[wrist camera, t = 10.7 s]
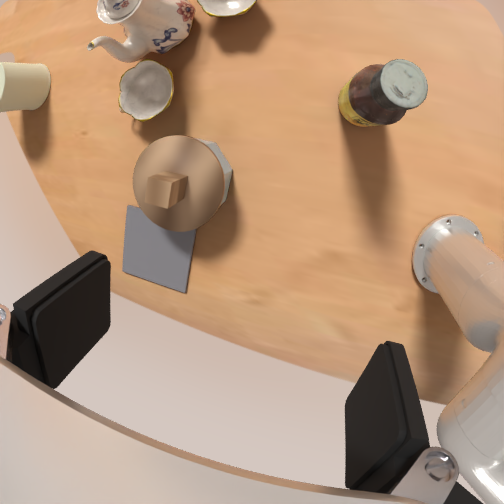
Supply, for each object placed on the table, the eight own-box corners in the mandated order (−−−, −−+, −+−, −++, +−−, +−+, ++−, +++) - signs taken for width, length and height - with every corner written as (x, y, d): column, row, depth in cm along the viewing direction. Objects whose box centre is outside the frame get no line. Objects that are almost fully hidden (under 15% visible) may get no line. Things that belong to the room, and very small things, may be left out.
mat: (197, 224, 48) (196, 225, 48) (186, 291, 53) (184, 292, 53) (129, 205, 49) (127, 205, 49) (124, 269, 54) (122, 271, 53)
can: (39, 54, 41) (-7, 50, 30) (57, 83, 43) (8, 82, 32) (16, 90, 45) (-29, 92, 34) (32, 119, 46) (-15, 126, 36)
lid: (234, 146, 37) (221, 149, 32) (214, 240, 42) (199, 257, 37) (143, 128, 38) (119, 130, 33) (131, 216, 43) (108, 229, 38)
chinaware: (173, 137, 46) (124, 154, 31) (94, 88, 43) (27, 91, 28) (281, -10, 35) (279, -61, 20) (190, -51, 32) (153, -101, 17)
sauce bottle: (346, 132, 40) (373, 134, 22) (330, 88, 38) (345, 57, 20) (390, 119, 38) (448, 116, 20) (375, 76, 36) (421, 41, 18)
